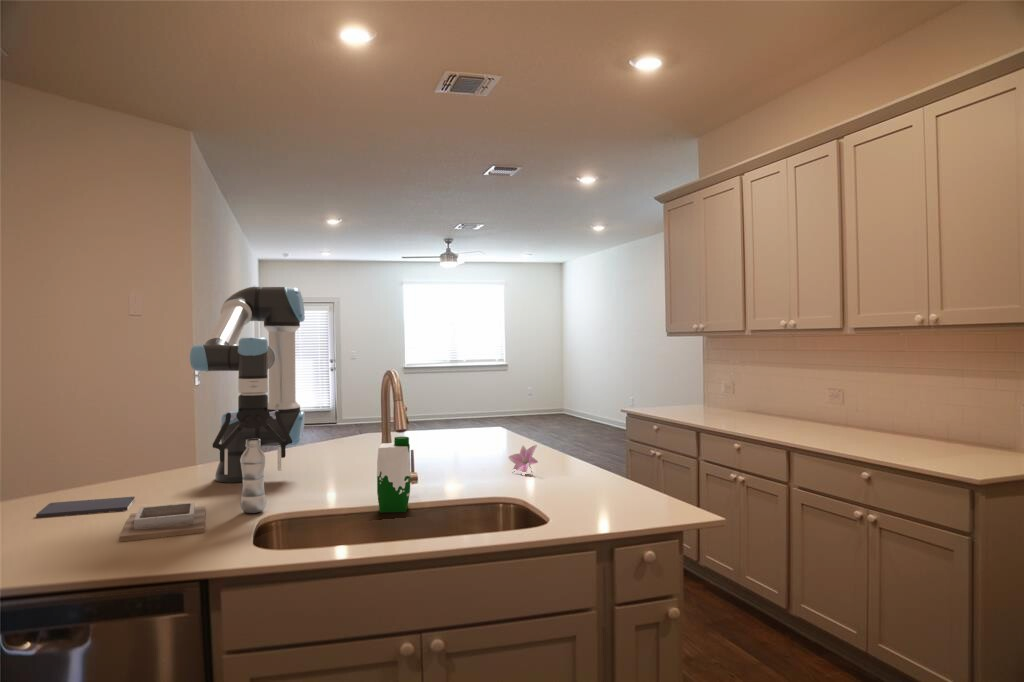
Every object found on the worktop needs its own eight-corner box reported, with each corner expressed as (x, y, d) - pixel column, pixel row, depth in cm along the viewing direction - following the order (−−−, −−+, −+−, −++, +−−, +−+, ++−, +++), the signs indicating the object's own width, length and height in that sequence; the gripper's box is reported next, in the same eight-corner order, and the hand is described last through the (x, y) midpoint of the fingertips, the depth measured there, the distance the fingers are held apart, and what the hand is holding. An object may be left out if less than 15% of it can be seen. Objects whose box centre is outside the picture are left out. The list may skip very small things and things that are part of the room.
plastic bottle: (257, 516, 179) (257, 441, 178) (235, 514, 180) (234, 440, 180) (271, 510, 185) (271, 438, 185) (249, 508, 186) (249, 437, 186)
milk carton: (409, 513, 182) (409, 439, 182) (375, 513, 181) (375, 440, 181) (411, 504, 191) (411, 435, 191) (379, 505, 190) (379, 435, 190)
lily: (507, 472, 241) (500, 451, 237) (536, 458, 244) (529, 437, 240) (520, 489, 231) (513, 467, 227) (550, 474, 234) (544, 452, 230)
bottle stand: (130, 518, 177) (130, 504, 177) (205, 510, 184) (205, 497, 184) (119, 541, 157) (119, 526, 157) (204, 532, 164) (204, 517, 164)
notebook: (36, 520, 177) (127, 512, 184) (35, 514, 177) (127, 506, 184) (50, 508, 189) (135, 501, 196) (50, 502, 189) (135, 496, 196)
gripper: (202, 396, 174) (202, 478, 174) (302, 393, 184) (302, 470, 184) (203, 394, 181) (203, 472, 180) (299, 391, 191) (299, 465, 191)
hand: (253, 471), depth 182 cm, fingers open, 13 cm apart
